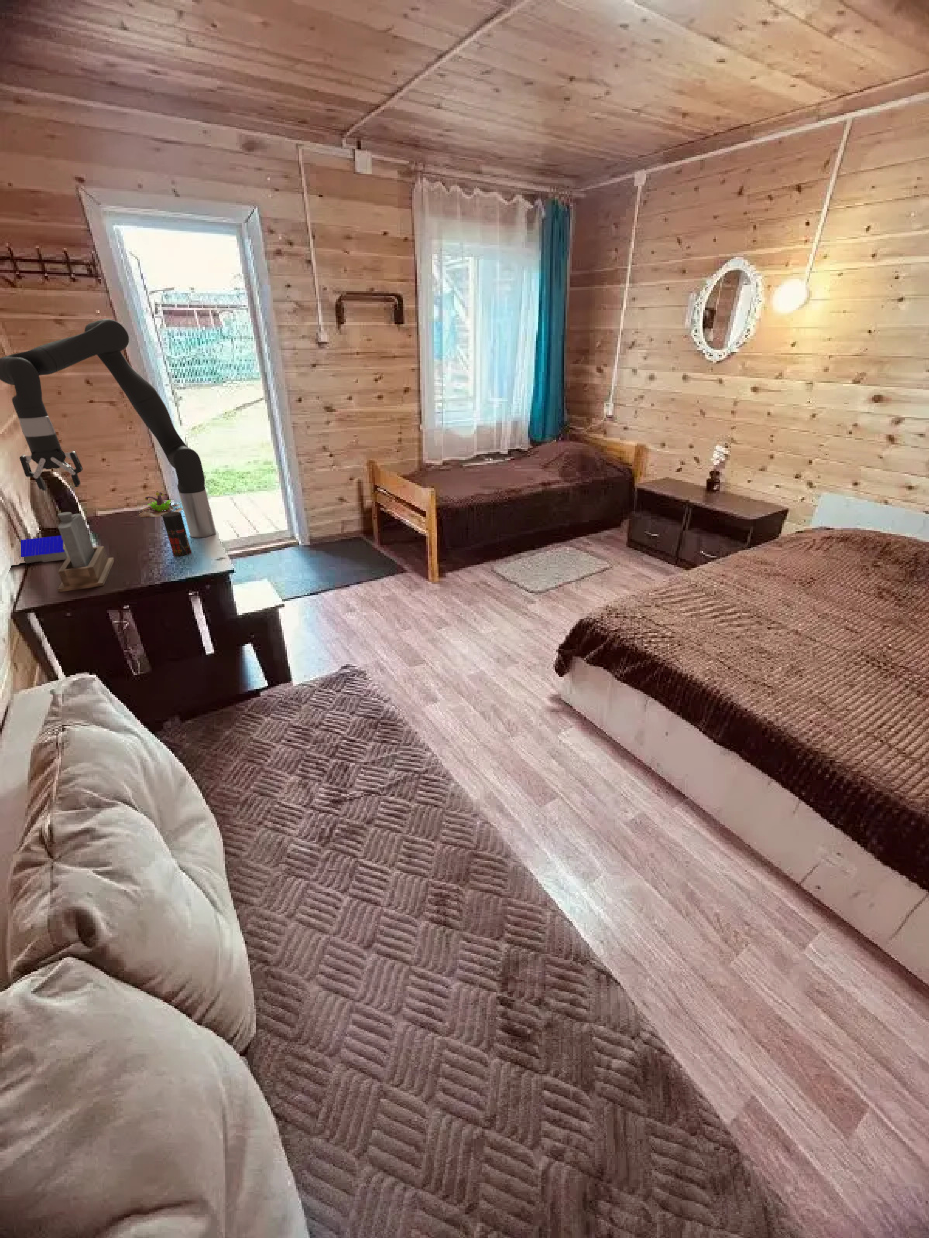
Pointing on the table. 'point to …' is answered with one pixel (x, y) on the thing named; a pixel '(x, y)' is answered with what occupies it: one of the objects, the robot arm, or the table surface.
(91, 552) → the hip flask
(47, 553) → the blue slatted box
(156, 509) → the plant
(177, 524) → the deodorant
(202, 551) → the table surface
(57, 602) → the table surface
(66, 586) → the walnut open box
